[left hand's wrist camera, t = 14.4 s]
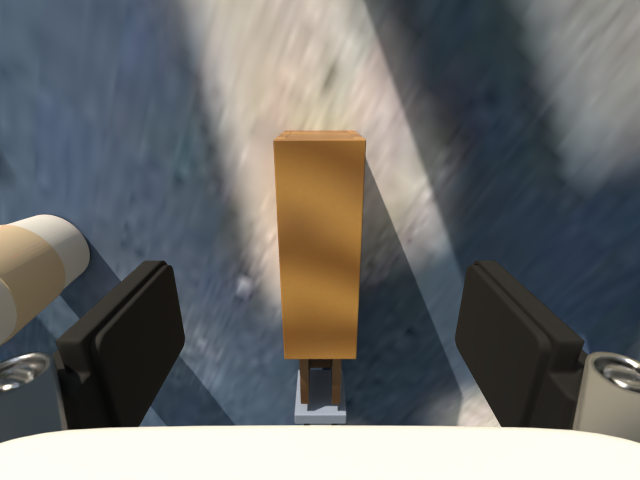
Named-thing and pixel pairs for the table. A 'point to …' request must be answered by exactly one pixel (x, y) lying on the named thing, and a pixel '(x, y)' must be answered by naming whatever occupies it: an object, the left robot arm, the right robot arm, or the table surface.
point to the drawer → (320, 393)
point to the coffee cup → (36, 267)
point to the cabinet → (320, 240)
